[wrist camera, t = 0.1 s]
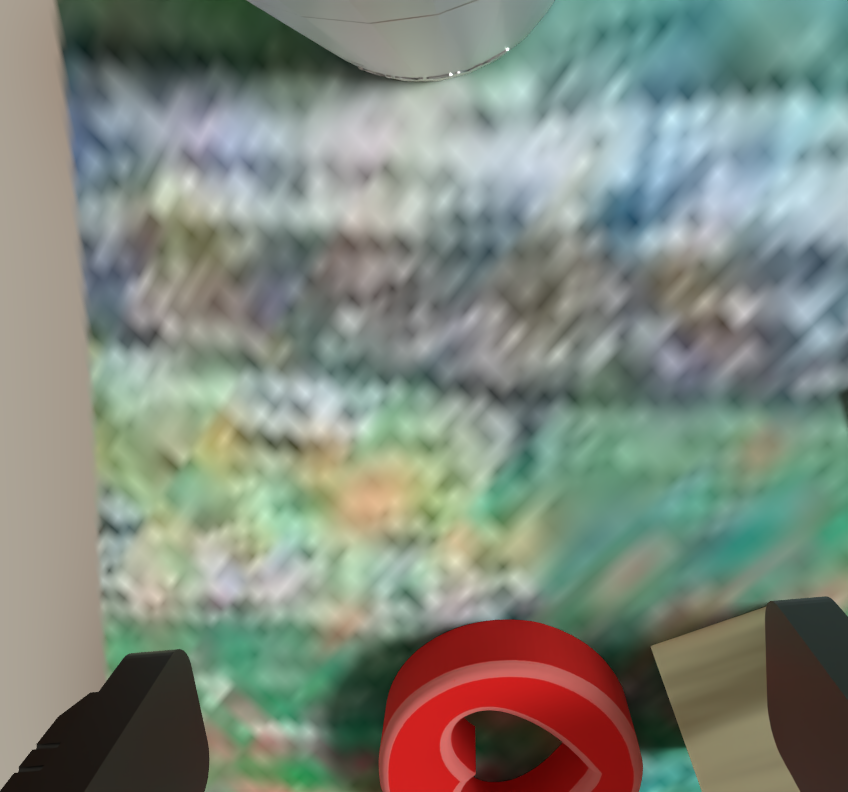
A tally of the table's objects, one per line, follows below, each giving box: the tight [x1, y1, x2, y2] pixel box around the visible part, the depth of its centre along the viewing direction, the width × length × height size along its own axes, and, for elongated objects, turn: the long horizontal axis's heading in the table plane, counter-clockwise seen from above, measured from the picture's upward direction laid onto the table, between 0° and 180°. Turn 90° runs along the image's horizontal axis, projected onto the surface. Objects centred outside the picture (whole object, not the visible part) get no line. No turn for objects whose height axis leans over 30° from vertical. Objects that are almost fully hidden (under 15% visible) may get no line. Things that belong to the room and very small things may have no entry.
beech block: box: [650, 607, 800, 792], centre depth 26 cm, size 5×5×10 cm
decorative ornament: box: [379, 620, 643, 792], centre depth 31 cm, size 10×10×3 cm
